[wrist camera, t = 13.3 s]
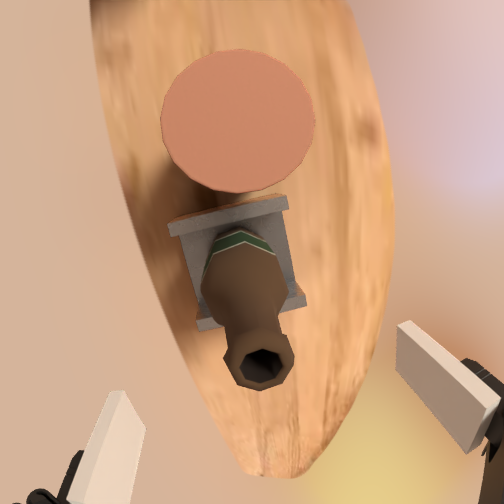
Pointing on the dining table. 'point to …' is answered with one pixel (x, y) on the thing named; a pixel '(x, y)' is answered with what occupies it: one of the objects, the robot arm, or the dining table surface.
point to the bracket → (226, 218)
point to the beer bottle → (248, 307)
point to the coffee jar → (237, 121)
